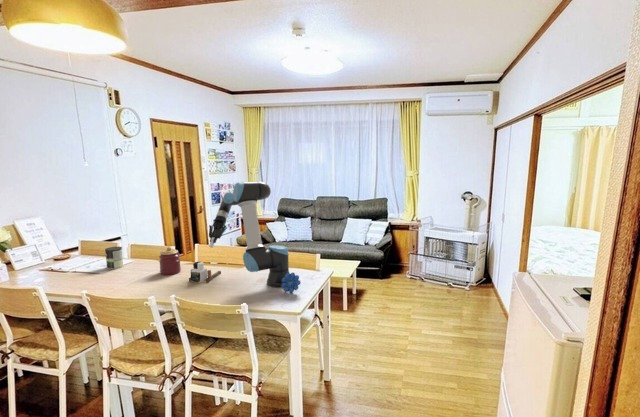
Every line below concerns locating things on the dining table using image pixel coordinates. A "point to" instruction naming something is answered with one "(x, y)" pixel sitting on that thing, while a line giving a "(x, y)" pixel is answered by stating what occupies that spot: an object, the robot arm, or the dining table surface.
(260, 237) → the robot arm
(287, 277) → the grapes
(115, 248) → the coffee can
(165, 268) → the canister
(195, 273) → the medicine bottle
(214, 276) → the guide channel
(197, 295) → the dining table surface
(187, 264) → the dining table surface
